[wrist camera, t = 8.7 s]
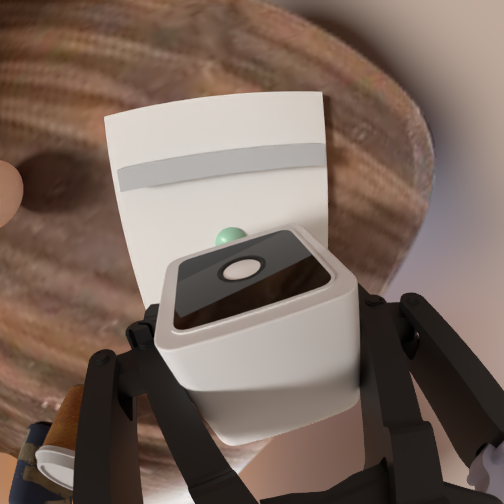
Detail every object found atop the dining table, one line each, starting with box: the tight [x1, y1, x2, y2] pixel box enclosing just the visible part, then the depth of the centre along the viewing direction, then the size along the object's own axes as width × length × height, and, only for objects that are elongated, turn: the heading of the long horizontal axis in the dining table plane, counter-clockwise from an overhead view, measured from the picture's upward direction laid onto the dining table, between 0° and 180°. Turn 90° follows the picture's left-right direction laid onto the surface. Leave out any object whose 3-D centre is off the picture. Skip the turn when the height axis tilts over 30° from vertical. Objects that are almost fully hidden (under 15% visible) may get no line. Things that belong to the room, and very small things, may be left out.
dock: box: [104, 92, 328, 309], centre depth 22 cm, size 22×16×3 cm
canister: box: [9, 423, 73, 504], centre depth 22 cm, size 10×10×18 cm
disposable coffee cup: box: [35, 385, 84, 490], centre depth 22 cm, size 10×10×12 cm
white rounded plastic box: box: [154, 224, 360, 446], centre depth 13 cm, size 6×7×10 cm
